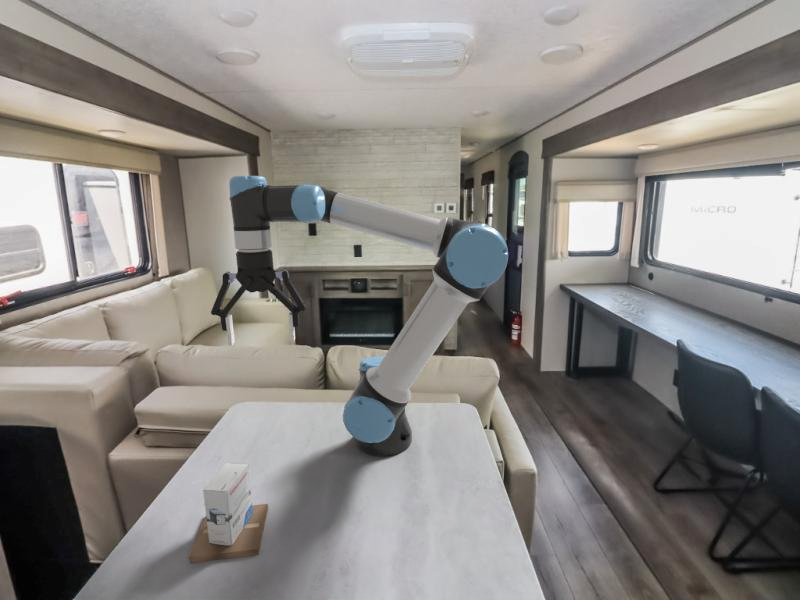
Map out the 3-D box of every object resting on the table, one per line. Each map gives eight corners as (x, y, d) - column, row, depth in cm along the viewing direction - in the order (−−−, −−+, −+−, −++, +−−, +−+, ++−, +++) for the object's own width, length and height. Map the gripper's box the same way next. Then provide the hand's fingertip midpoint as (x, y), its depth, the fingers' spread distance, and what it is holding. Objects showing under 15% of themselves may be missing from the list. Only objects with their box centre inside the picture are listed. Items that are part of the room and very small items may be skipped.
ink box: (231, 511, 88) (225, 461, 85) (255, 513, 87) (249, 462, 84) (208, 544, 79) (200, 489, 77) (233, 546, 79) (227, 491, 76)
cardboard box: (268, 508, 90) (267, 503, 90) (258, 554, 79) (257, 548, 78) (208, 515, 88) (208, 509, 88) (189, 562, 77) (188, 557, 77)
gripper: (313, 246, 98) (318, 333, 103) (199, 249, 95) (210, 339, 100) (311, 250, 91) (317, 344, 96) (187, 253, 87) (200, 351, 92)
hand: (262, 342), depth 98 cm, fingers open, 13 cm apart
